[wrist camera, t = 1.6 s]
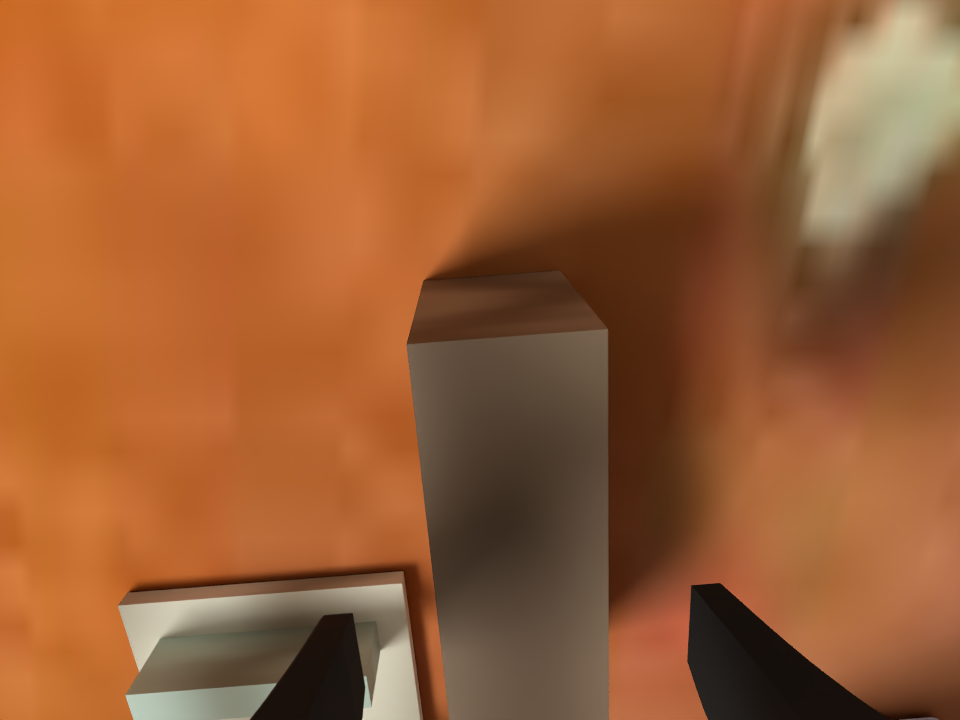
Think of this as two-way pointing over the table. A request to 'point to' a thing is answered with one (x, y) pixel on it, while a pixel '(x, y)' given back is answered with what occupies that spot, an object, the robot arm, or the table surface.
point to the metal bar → (515, 492)
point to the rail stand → (263, 644)
